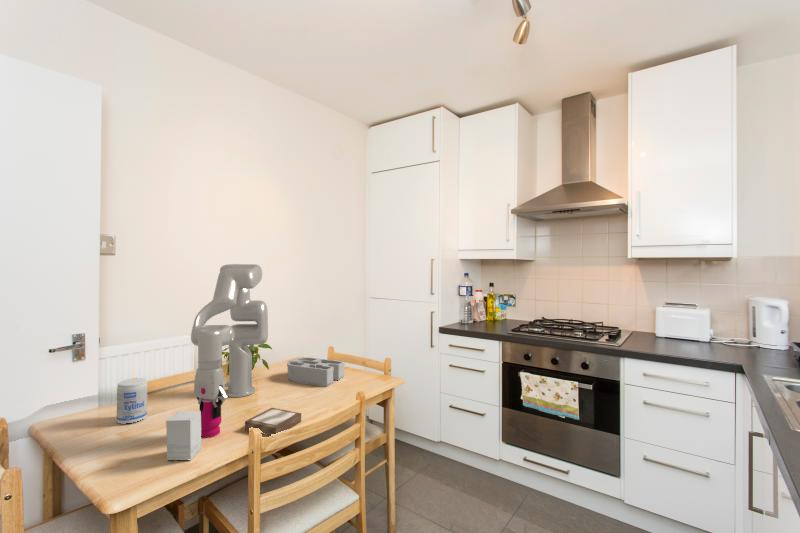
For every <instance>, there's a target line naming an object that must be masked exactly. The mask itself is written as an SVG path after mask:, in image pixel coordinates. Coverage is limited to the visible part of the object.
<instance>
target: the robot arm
mask: <svg viewBox="0 0 800 533" xmlns="http://www.w3.org/2000/svg"><path fill="white" fill-rule="evenodd" d="M262 278H263V269H262V267H261V266H260V265H259V264H253V263H252V264H248V263H247V264H243V263H242V264H240V263H234V264H233V263H231V264H230V263H229V264H224V265H222V266H221V267H220V269H219V273H218V276H217V280H216V285H215V289H214V293H213V296H212V297H213V298H212V300H211V301H210V302H208V303H207V304H206V305H204V307H202V308H201V309H200V310H199V312H198V313H197V314H196V315H195V318H194V321H193V324H192V328H191V333H190V340H191V343H192V344H193V345H194V346H197V368H196V372H195V375H194V384H193V385H194V388H193V395H194V396H195V397H196V400H197V404H198V405H199V411H201V414H202V411H203V405H204V403H203V401H202V398H204V399H209V400H212V401H213V405H214V407H212V418H213V419H215V418H217V417H219V416H221V417H222V405H223V403H224V402H225V401H226V400H227V399H228V397H229V398H242V397H247V396H250V395H253V394H254V393H255V392H256V387H254V386H253V385H252V384H253V383H252V382H253V381H252V380H253V374H252V372H253V369H252V368H253V363H252V362H253V361H252V358H253V356H252V351H251V350H250V348H249V347H248V346H252V345H253V346H255V345H256V346H257V345H264V344H266V343H267V341H268V336H269V321H268V319H269V318H268V316H269V315H268V306H267V303H266V302H265V301H263V300H257V299H256V300H251V291H250V290H251V289H255V287H257V285H259V284H260V282H261V280H262ZM226 311H227V312H228V311H229V313H230V314H229V315H230V318H231V320H232V321H234V322H255V323H236V324H232V325H227V324H206V323H207V322H208V321H209V320H210V319H211V318H213V317H214V316H217V315H219V314H220V315H221V314H222V313H224V312H226ZM225 346H228V352H229V354H228V355H229V356H228V359H229V368H228V369H229V370H228V372H229V375H228V377H229V379H228V380H227V381H225V373H224V368H223V347H225ZM225 382H226V383H225ZM202 388H205V391H206V392H205V394H202V393H201V389H202ZM226 388H227V389H226ZM216 399H217V401H216Z"/></svg>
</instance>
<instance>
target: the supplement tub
mask: <svg viewBox="0 0 800 533" xmlns="http://www.w3.org/2000/svg"><path fill="white" fill-rule="evenodd" d="M147 416H148V380H147V378H142V377H141V378H140V377H138V378H129V379H125V380H121V381H119V382H117V387H116V422H117V423H118V424H119V423H121V424H120V425H127V424H126V423H132V424H134V423H133V422H136V423H138V422H137V421H139V422H141V421H143V420H142V419H144V418H145V419H146V418H147ZM145 419H144V420H145ZM140 420H141V421H140Z"/></svg>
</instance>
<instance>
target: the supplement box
mask: <svg viewBox="0 0 800 533" xmlns="http://www.w3.org/2000/svg"><path fill="white" fill-rule="evenodd" d="M165 423H166V461H167V460H188V459H192V458H193V457H194V456H195V455H196V453H197V452H198V451H199V450H200V449H201V450H202V437H201V411H200V410H193V411H191V410H190V411H189V410H188V411H177V412H176V413H175V414H172V416H171V417H169V418H168V419H167V420H165ZM201 450H200V451H201ZM200 451H199V452H200ZM199 452H198V453H199ZM196 456H197V455H196ZM196 456H195V457H196ZM193 459H194V458H193ZM193 459H192V460H193Z"/></svg>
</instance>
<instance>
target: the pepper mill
mask: <svg viewBox="0 0 800 533" xmlns="http://www.w3.org/2000/svg"><path fill="white" fill-rule="evenodd" d="M205 392H206V391H205V388H202V389H201V393H202V394H205ZM202 401H203V403H204V405H203V411H202V414H201V436H202V437H201V438H204V437H209V438H212V437H211V436H214V437H216V436H218V435H219V434H220V433H221V426H220V425H221V423H222V415H221V416H219V417H217V418H215V419H213V418H212V407H214V405H213V401H212V400H209V399H204V398H202ZM216 401H218V399H216ZM217 434H218V435H217ZM215 435H216V436H215Z"/></svg>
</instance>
